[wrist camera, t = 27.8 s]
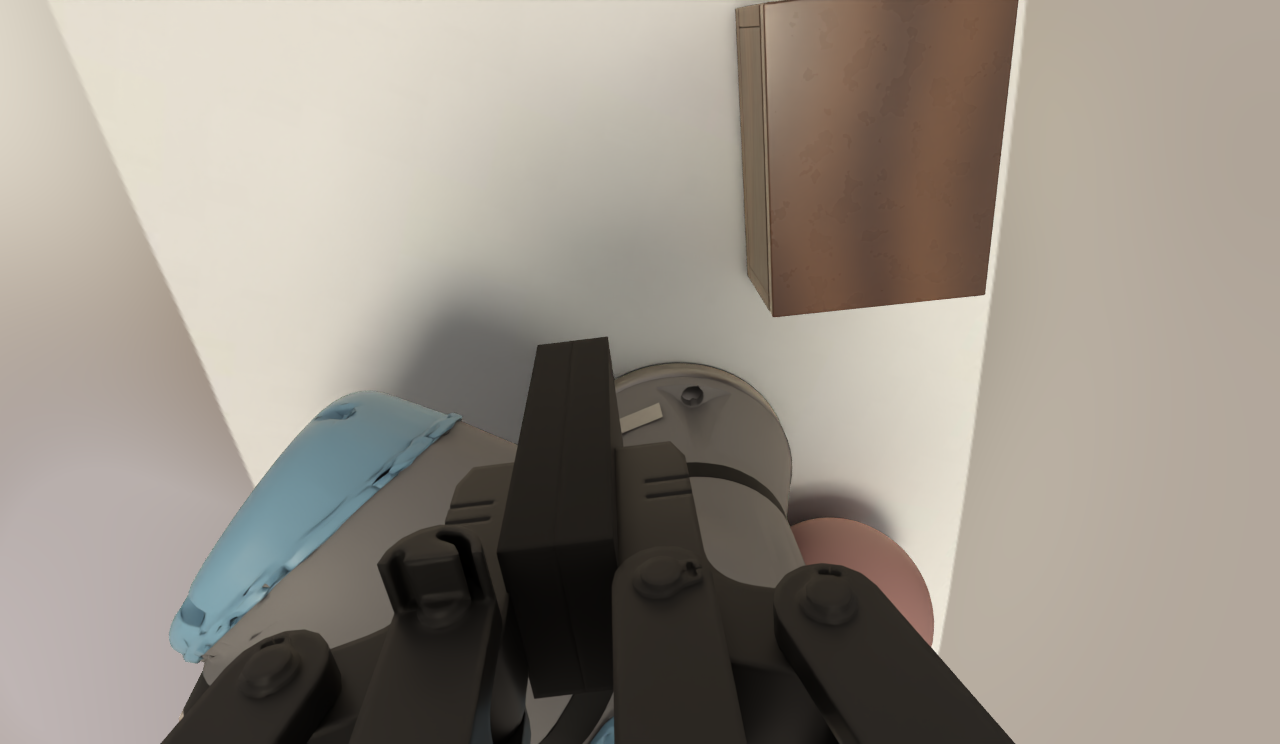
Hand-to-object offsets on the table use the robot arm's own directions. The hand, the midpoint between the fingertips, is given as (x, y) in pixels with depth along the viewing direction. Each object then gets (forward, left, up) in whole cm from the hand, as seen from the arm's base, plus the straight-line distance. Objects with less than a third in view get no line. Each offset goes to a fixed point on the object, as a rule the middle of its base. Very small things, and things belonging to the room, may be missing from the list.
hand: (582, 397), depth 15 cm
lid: (-7, -12, -20) cm, 24 cm away
